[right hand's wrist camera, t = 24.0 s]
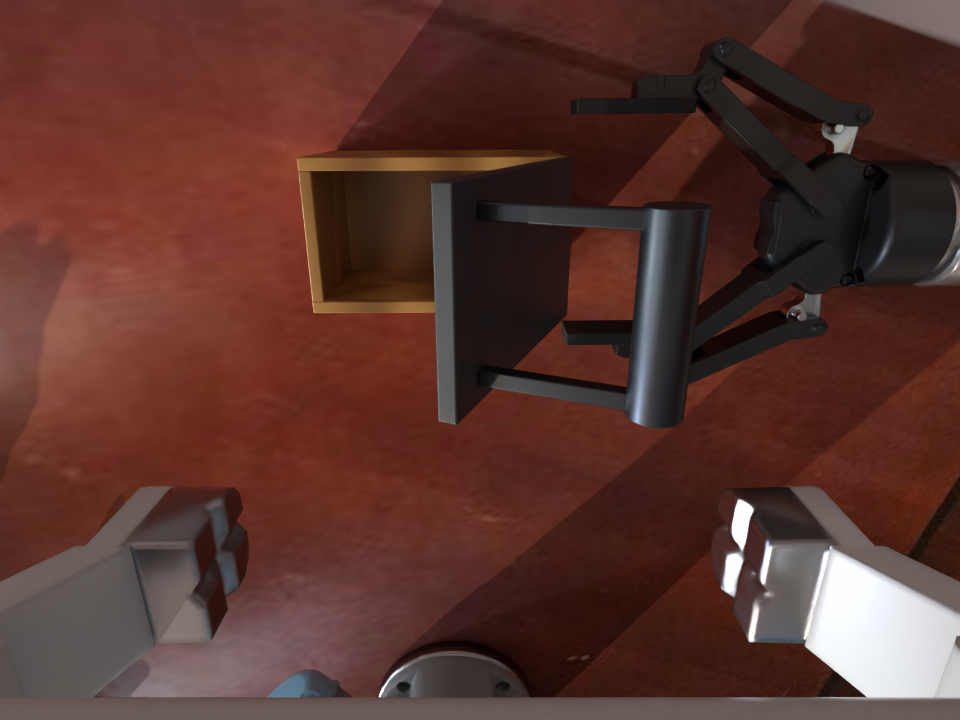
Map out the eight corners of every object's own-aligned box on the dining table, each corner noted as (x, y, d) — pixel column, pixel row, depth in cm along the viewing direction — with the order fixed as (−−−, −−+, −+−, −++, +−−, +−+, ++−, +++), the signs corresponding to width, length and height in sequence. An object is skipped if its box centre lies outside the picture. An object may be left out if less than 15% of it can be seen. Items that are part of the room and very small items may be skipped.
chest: (344, 276, 46) (313, 313, 37) (333, 150, 43) (296, 157, 34) (544, 276, 46) (559, 312, 37) (548, 149, 43) (566, 156, 34)
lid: (437, 422, 24) (672, 469, 20) (429, 181, 20) (708, 190, 17) (553, 313, 37) (707, 331, 34) (560, 157, 34) (731, 160, 30)
